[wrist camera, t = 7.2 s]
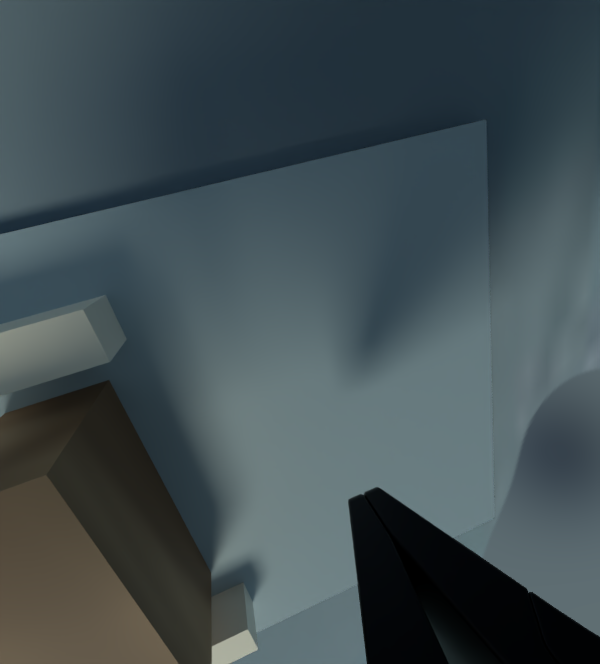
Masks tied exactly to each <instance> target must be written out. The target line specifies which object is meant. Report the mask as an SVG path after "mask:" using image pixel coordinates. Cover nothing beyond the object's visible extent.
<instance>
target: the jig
mask: <svg viewBox="0 0 600 664" xmlns="http://www.w3.org/2000/svg"><path fill="white" fill-rule="evenodd" d="M107 380H109V381H110V383H111V384H112V386H113V388H114V390H115V392H116V394H117V396H118V398H119V400H120V401H121V403H122V405H123V407H124V409H125V411H126V413H127V415H128V417H129V418H130V420H131V422H132V424H133V426H134V428H135V430H136V432H137V434H138V435H139V437H140V439H141V441H142V443H143V445H144V447H145V449H146V451H147V452H148V454H149V456H150V458H151V460H152V462H153V464H154V466H155V468H156V469H157V471H158V473H159V475H160V477H161V479H162V481H163V483H164V485H165V486H166V488H167V490H168V492H169V494H170V496H171V498H172V500H173V502H174V503H175V505H176V507H177V509H178V511H179V513H180V515H181V517H182V519H183V521H184V522H185V524H186V526H187V528H188V530H189V532H190V534H191V536H192V538H193V539H194V541H195V543H196V545H197V547H198V549H199V551H200V553H201V555H202V556H203V558H204V560H205V562H206V564H207V566H208V568H209V570H210V572H211V613H212V664H229V663H232V662H234V661H236V660H238V659H240V658H242V657H244V656H246V655H248V654H250V653H252V652H254V651H256V650H258V643H257V634H256V633H258V632H260V631H262V630H264V629H266V628H268V627H270V626H272V625H274V624H276V623H278V622H280V621H282V620H285V619H287V618H289V617H291V616H293V615H295V614H297V613H299V612H301V611H303V610H305V609H307V608H309V607H311V606H314V605H316V604H318V603H320V602H322V601H324V600H326V599H328V598H330V597H332V596H334V595H336V594H338V593H341V592H343V591H345V590H347V589H349V588H351V587H353V586H355V585H357V584H358V583H357V575H356V566H355V558H354V549H353V541H352V532H351V524H350V515H349V507H348V500H349V499H350V498H352V497H354V496H356V495H359V494H363V495H364V492H366V491H368V490H370V489H373V488H375V487H379V488H381V489H382V490H384V491H385V492H387V493H388V494H390V495H391V496H393V497H394V498H396V499H397V500H398V501H400V502H401V503H403V504H404V505H406V506H407V507H409V508H410V509H412V510H413V511H414V512H416V513H417V514H419V515H420V516H422V517H423V518H425V519H426V520H428V521H429V522H431V523H432V524H433V525H435V526H436V527H438V528H439V529H441V530H442V531H444V532H445V533H447V534H448V535H449V536H451V537H452V538H455V537H457V536H459V535H461V534H463V533H465V532H467V531H469V530H471V529H473V528H475V527H477V526H479V525H482V524H484V523H486V522H488V521H490V520H492V519H494V518H495V507H494V459H493V410H492V362H491V313H490V265H489V217H488V168H487V120H486V119H485V120H481V121H477V122H473V123H468V124H464V125H460V126H456V127H452V128H447V129H443V130H439V131H435V132H430V133H426V134H422V135H418V136H414V137H409V138H405V139H401V140H397V141H392V142H388V143H384V144H380V145H376V146H371V147H367V148H363V149H359V150H354V151H350V152H346V153H342V154H337V155H333V156H329V157H325V158H321V159H316V160H312V161H308V162H304V163H299V164H295V165H291V166H287V167H283V168H278V169H274V170H270V171H266V172H261V173H257V174H253V175H249V176H245V177H240V178H236V179H232V180H228V181H223V182H219V183H215V184H211V185H207V186H202V187H198V188H194V189H190V190H185V191H181V192H177V193H173V194H169V195H164V196H160V197H156V198H152V199H147V200H143V201H139V202H135V203H131V204H126V205H122V206H118V207H114V208H109V209H105V210H101V211H97V212H92V213H88V214H84V215H80V216H76V217H71V218H67V219H63V220H59V221H54V222H50V223H46V224H42V225H38V226H33V227H29V228H25V229H21V230H16V231H12V232H8V233H4V234H0V417H1V416H2V415H4V414H5V413H7V412H10V411H14V410H17V409H20V408H23V407H26V406H29V405H32V404H35V403H38V402H42V401H45V400H48V399H51V398H54V397H57V396H60V395H63V394H66V393H70V392H73V391H76V390H79V389H82V388H85V387H88V386H91V385H94V384H98V383H101V382H104V381H107Z"/></svg>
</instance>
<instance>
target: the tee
mask: <svg viewBox="0 0 600 664" xmlns="http://www.w3.org/2000/svg"><path fill="white" fill-rule="evenodd" d="M0 664H212V613H211V572H210V570H209V568H208V566H207V564H206V562H205V560H204V558H203V556H202V555H201V553H200V551H199V549H198V547H197V545H196V543H195V541H194V539H193V538H192V536H191V534H190V532H189V530H188V528H187V526H186V524H185V522H184V521H183V519H182V517H181V515H180V513H179V511H178V509H177V507H176V505H175V503H174V502H173V500H172V498H171V496H170V494H169V492H168V490H167V488H166V486H165V485H164V483H163V481H162V479H161V477H160V475H159V473H158V471H157V469H156V468H155V466H154V464H153V462H152V460H151V458H150V456H149V454H148V452H147V451H146V449H145V447H144V445H143V443H142V441H141V439H140V437H139V435H138V434H137V432H136V430H135V428H134V426H133V424H132V422H131V420H130V418H129V417H128V415H127V413H126V411H125V409H124V407H123V405H122V403H121V401H120V400H119V398H118V396H117V394H116V392H115V390H114V388H113V386H112V384H111V383H110V381H109V380H107V381H104V382H101V383H98V384H94V385H91V386H88V387H85V388H82V389H79V390H76V391H73V392H70V393H66V394H63V395H60V396H57V397H54V398H51V399H48V400H45V401H42V402H38V403H35V404H32V405H29V406H26V407H23V408H20V409H17V410H14V411H10V412H7V413H5V414H4V415H2V416H1V417H0Z"/></svg>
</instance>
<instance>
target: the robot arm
mask: <svg viewBox="0 0 600 664" xmlns="http://www.w3.org/2000/svg"><path fill="white" fill-rule="evenodd" d="M348 507H349V515H350V524H351V532H352V541H353V549H354V558H355V566H356V575H357V583H358V592H359V600H360V609H361V617H362V626H363V634H364V643H365V651H366V660H367V664H600V637H599V636H598V635H596V634H594V633H593V632H591V631H589V630H588V629H586V628H585V627H583V626H582V625H580V624H579V623H577V622H576V621H574V620H573V619H571V618H570V617H568V616H567V615H565V614H564V613H562V612H561V611H559V610H558V609H556V608H554V607H553V606H552V605H550V604H549V603H547V602H546V601H544V600H543V599H541V598H540V597H539V596H537V595H536V594H534V593H533V592H529V593H528V590H527V589H526V588H525V587H524V586H522V585H521V584H519V583H518V582H516V581H515V580H514V579H512V578H511V577H509V576H508V575H506V574H505V573H503V572H502V571H500V570H499V569H498V568H496V567H495V566H493V565H492V564H490V563H489V562H487V561H486V560H484V559H483V558H481V557H480V556H479V555H477V554H476V553H474V552H473V551H471V550H470V549H468V548H467V547H465V546H464V545H463V544H461V543H460V542H458V541H457V540H455V539H454V538H452V537H451V536H449V535H448V534H447V533H445V532H444V531H442V530H441V529H439V528H438V527H436V526H435V525H433V524H432V523H431V522H429V521H428V520H426V519H425V518H423V517H422V516H420V515H419V514H417V513H416V512H414V511H413V510H412V509H410V508H409V507H407V506H406V505H404V504H403V503H401V502H400V501H398V500H397V499H396V498H394V497H393V496H391V495H390V494H388V493H387V492H385V491H384V490H382V489H381V488H379V487H375V488H373V489H370V490H368V491H366V492H364V495H363V494H359V495H356V496H354V497H352V498H350V499H349V500H348Z"/></svg>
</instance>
